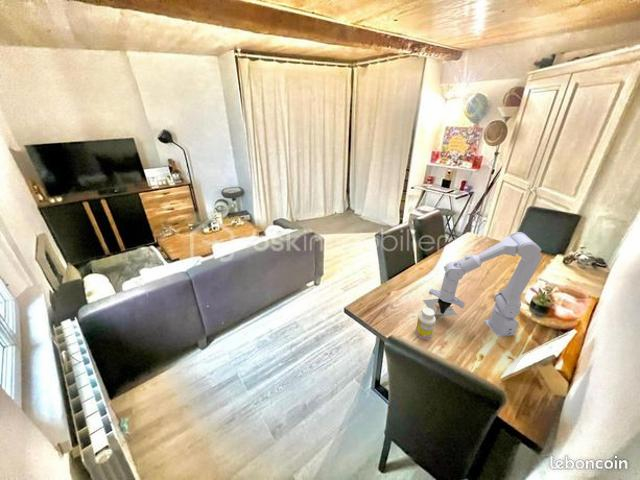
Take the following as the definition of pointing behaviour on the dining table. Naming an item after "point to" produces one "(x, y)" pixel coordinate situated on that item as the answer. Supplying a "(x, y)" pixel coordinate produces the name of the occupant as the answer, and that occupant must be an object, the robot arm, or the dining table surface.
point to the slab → (437, 309)
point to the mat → (431, 304)
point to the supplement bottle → (426, 323)
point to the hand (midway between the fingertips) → (442, 312)
